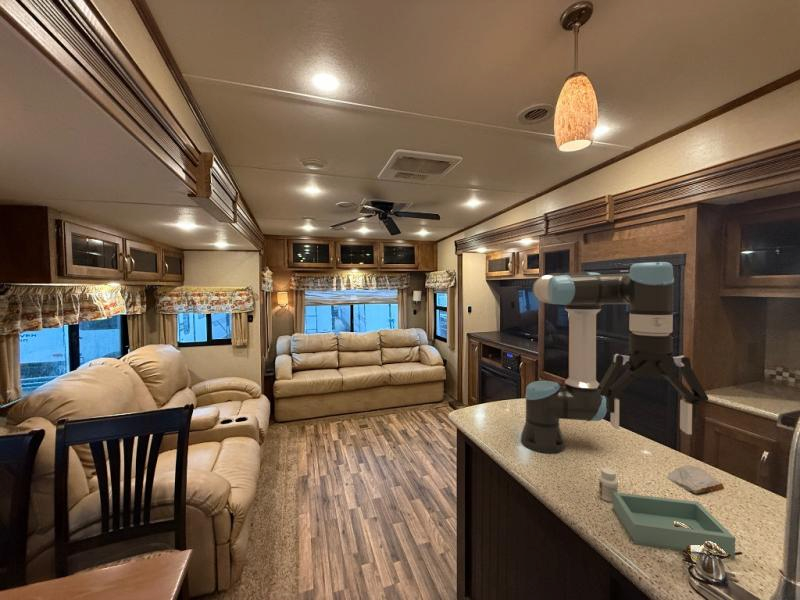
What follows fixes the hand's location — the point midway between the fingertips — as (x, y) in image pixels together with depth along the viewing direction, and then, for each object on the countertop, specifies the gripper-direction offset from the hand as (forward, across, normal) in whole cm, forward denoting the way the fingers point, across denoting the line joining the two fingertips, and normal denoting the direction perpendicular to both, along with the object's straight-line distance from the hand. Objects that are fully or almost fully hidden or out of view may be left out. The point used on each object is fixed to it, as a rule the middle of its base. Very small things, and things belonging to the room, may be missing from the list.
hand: (649, 429), depth 72 cm
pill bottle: (+28, -1, +19) cm, 34 cm away
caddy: (+28, +8, +8) cm, 30 cm away
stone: (+29, +26, +32) cm, 50 cm away
